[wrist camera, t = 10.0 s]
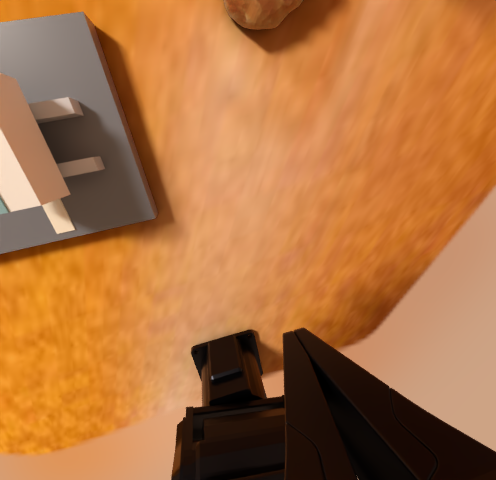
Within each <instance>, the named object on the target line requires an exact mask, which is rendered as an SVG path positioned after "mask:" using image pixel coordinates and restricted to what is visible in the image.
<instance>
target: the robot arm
mask: <svg viewBox="0 0 496 480" xmlns="http://www.w3.org/2000/svg"><path fill="white" fill-rule="evenodd" d="M248 335H250V336H248ZM196 350H197V351H196ZM191 354H192V357H193V360H194V362H195V365H196V368H197V370H198V373H199V376H200V378H201V381H202V407H195V408H193V407H186V417H184V418H183V421H181V422H180V423H179V424H178V425H177V435H176V447H175V455H174V462H173V470H172V479H171V480H358V479H359V480H496V452H495V451H493V450H492V449H490V448H488V447H486V446H485V445H483V444H481V443H480V442H478V441H476V440H475V439H473V438H471V437H469V436H467V435H466V434H464V433H462V432H461V431H459V430H457V429H456V428H454V427H452V426H450V425H448V424H447V423H445V422H443V421H442V420H440V419H438V418H437V417H435V416H434V415H432V414H430V413H429V412H427V411H425V410H424V409H422V408H420V407H419V406H418V405H416V404H414V403H413V402H411V401H410V400H408V399H407V398H405V397H404V396H402V395H401V394H400V393H398V392H397V391H395V390H394V389H392V388H389V386H388V385H386V384H385V383H383V382H382V381H380V380H379V379H378V378H376V377H375V376H373V375H372V374H370V373H369V372H368V371H366V370H365V369H363V368H362V367H360V366H359V365H357V364H356V363H354V362H353V361H352V360H350V359H349V358H347V357H345V356H344V355H343V354H341V353H340V352H339V351H337V350H336V349H334V348H333V347H331V346H330V345H328V344H327V343H325V342H324V341H323V340H321V339H320V338H318V337H317V336H315V335H314V334H312V333H311V332H310V331H308V330H307V329H305V328H300V329H296V330H294V332H293V331H289V332H286V333H283V365H284V395H282V396H281V397H274V398H267V397H266V393H265V390H264V386H263V383H262V379H261V376H262V374H263V371H262V367H261V363H260V358H259V354H258V349H257V345H256V341H255V336H254V333H253V331H252V330H247V331H244V332H240V333H237V334H233V335H230V336H226V337H223V338H220V339H216V340H213V341H209V342H206V343H202V344H199V345H196V346H193V347H192V349H191ZM356 475H357V476H356ZM357 477H358V479H357Z"/></svg>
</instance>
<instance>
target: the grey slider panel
mask: <svg viewBox="0 0 496 480" xmlns="http://www.w3.org/2000/svg"><path fill="white" fill-rule="evenodd" d="M0 73H2V74H4V75H7V76H10V77H12V78H15V79H16V80H17V82H18V84H19V87H20V89H21V91H22V93H23V95H24V97H25V99H26V101H27V103H28V105H29V108H30V110H31V112H32V114H33V116H34V118H35V120H36V122H37V124H38V127H39V129H40V131H41V133H42V135H43V137H44V139H45V141H46V143H47V146H48V148H49V150H50V152H51V154H52V156H53V158H54V160H55V162H56V165H57V167H58V169H59V171H60V173H61V175H62V177H63V179H64V181H65V184H66V186H67V188H68V190H69V192H70V194H71V195H68V196H65V197H63V198H60V199H57V200H55V201H52V202H49V203H47V204H44V205H41V206H36V207H32V208H27V209H22V210H17V211H13V212H9V213H4V214H0V254H2V253H7V252H11V251H16V250H20V249H24V248H29V247H33V246H37V245H42V244H46V243H51V242H55V241H59V240H64V239H68V238H72V237H77V236H81V235H86V234H90V233H94V232H99V231H103V230H107V229H112V228H116V227H121V226H125V225H129V224H134V223H138V222H142V221H147V220H151V219H155V218H156V217H157V215H158V211H157V208H156V205H155V202H154V199H153V196H152V193H151V190H150V188H149V185H148V182H147V179H146V176H145V173H144V170H143V167H142V164H141V161H140V158H139V155H138V152H137V149H136V147H135V144H134V141H133V138H132V135H131V132H130V129H129V126H128V123H127V120H126V117H125V114H124V111H123V108H122V106H121V103H120V100H119V97H118V94H117V91H116V88H115V85H114V82H113V79H112V76H111V73H110V70H109V68H108V65H107V62H106V59H105V56H104V53H103V50H102V47H101V44H100V41H99V38H98V35H97V32H96V29H95V27H94V24H93V23H92V22H91V21H90V19H89V18H88V17H87V16H86V15H85V13H84V12H77V13H70V14H62V15H54V16H47V17H39V18H31V19H23V20H16V21H8V22H0Z"/></svg>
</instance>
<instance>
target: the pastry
mask: <svg viewBox="0 0 496 480" xmlns="http://www.w3.org/2000/svg"><path fill="white" fill-rule="evenodd" d="M302 1H303V0H224V4H225V7H226V10H227V12H228V14H229V16H230V17H231V18H232V19H234V20H235V21H236V22H237V23H238V24H239V25H241V26H242V27H244V28H248V29H256V30H259V29H271V28H276V27H277V26H278V25H279V24H280V23H281V22H282V21H283V19H284V18H285V17H286V16H287V15H288V14H289V12H291V11H292V10H294V9H295V8H297V7H298V6H299V5H300V4H301V3H302Z"/></svg>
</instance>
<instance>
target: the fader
mask: <svg viewBox="0 0 496 480" xmlns="http://www.w3.org/2000/svg"><path fill="white" fill-rule="evenodd" d="M68 195H71V194H70V192H69V190H68V188H67V186H66V184H65V181H64V179H63V177H62V175H61V173H60V171H59V169H58V167H57V165H56V162H55V160H54V158H53V156H52V154H51V152H50V150H49V148H48V146H47V143H46V141H45V139H44V137H43V135H42V133H41V131H40V129H39V127H38V124H37V122H36V120H35V118H34V116H33V114H32V112H31V110H30V108H29V105H28V103H27V101H26V99H25V97H24V95H23V93H22V91H21V89H20V87H19V84H18V82H17V80H16V79H15V78H12V77H10V76H7V75H4V74H2V73H0V214H4V213H9V212H13V211H17V210H22V209H27V208H32V207H36V206H41V205H44V204H47V203H49V202H52V201H55V200H57V199H60V198H63V197H65V196H68Z"/></svg>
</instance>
